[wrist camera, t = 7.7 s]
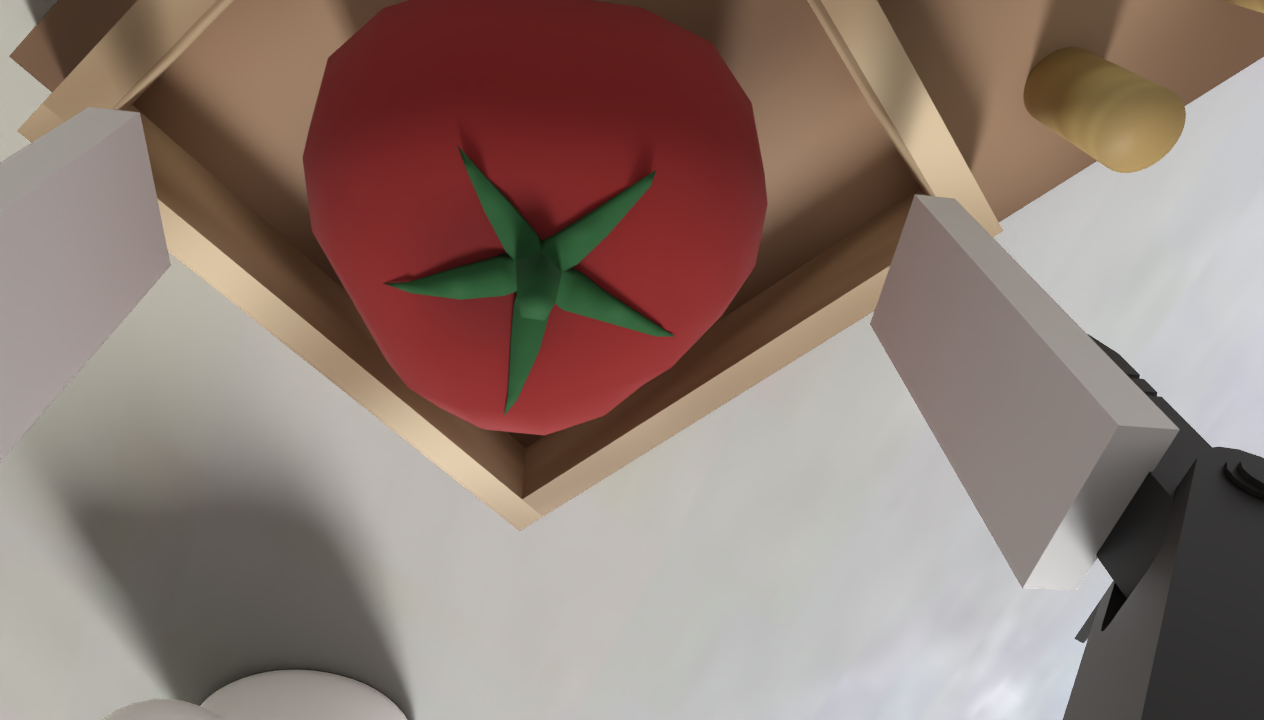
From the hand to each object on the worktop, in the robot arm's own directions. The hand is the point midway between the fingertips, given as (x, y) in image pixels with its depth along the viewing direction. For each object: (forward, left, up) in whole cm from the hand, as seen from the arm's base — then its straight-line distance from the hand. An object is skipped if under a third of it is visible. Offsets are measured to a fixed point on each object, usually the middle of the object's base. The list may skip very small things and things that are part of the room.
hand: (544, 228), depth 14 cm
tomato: (0, 0, -4) cm, 4 cm away
